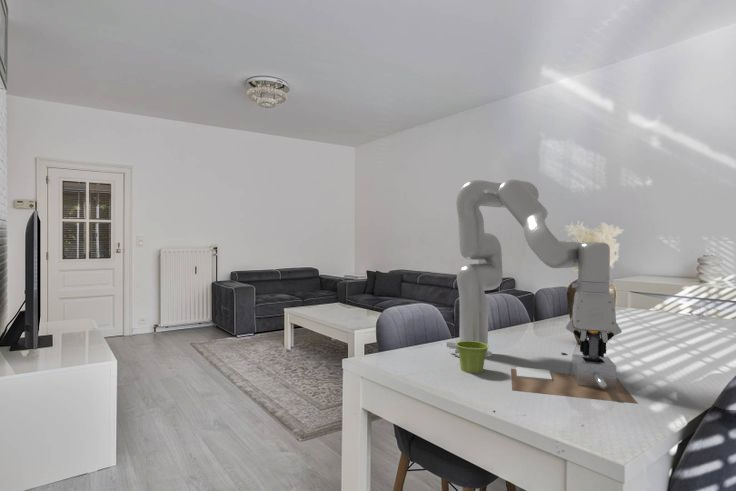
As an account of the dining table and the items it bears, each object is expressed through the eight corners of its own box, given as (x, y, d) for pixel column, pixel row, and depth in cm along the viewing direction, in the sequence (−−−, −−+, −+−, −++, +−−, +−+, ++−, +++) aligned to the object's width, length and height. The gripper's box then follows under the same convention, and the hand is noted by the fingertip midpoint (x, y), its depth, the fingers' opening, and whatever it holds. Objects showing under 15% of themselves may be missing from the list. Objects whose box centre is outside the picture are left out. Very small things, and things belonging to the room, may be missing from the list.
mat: (517, 377, 118) (517, 375, 118) (516, 368, 126) (516, 366, 126) (552, 380, 115) (552, 378, 115) (548, 371, 124) (548, 369, 124)
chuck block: (582, 395, 104) (583, 371, 104) (572, 375, 120) (572, 354, 120) (624, 400, 101) (624, 375, 101) (607, 378, 117) (608, 357, 117)
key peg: (586, 372, 113) (587, 327, 113) (584, 368, 116) (585, 325, 116) (601, 373, 112) (601, 328, 112) (598, 370, 115) (598, 326, 115)
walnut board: (512, 395, 107) (512, 390, 107) (510, 372, 126) (510, 368, 126) (638, 408, 99) (638, 403, 99) (616, 382, 118) (616, 378, 118)
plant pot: (489, 371, 128) (489, 342, 128) (487, 380, 119) (487, 349, 119) (457, 367, 131) (458, 339, 131) (453, 376, 122) (454, 346, 122)
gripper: (561, 288, 113) (561, 356, 113) (632, 290, 108) (631, 362, 108) (558, 285, 120) (557, 349, 121) (624, 287, 115) (623, 354, 115)
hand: (592, 354), depth 114 cm, fingers closed on key peg, 3 cm apart
